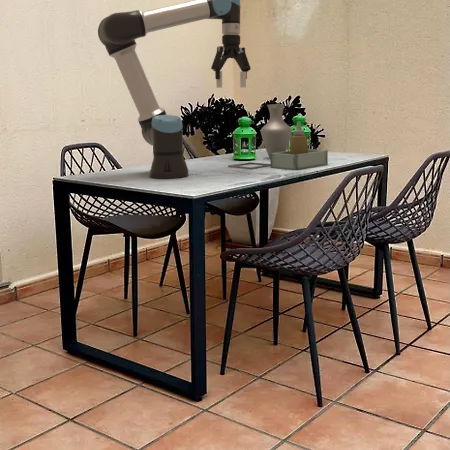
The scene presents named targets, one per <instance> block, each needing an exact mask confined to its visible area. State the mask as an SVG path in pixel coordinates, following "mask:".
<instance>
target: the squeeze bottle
mask: <svg viewBox="0 0 450 450" xmlns="http://www.w3.org/2000/svg"><path fill="white" fill-rule="evenodd" d="M302 128H303V127H302V124H301V121H297V123H296V128H295V130H292V133H293V135H291V138H290V149H289V151H290V154H292V155H298V154H305V153H308V149H309V147H308V138H307V136H306V135H305V130H303V129H302Z"/></svg>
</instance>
